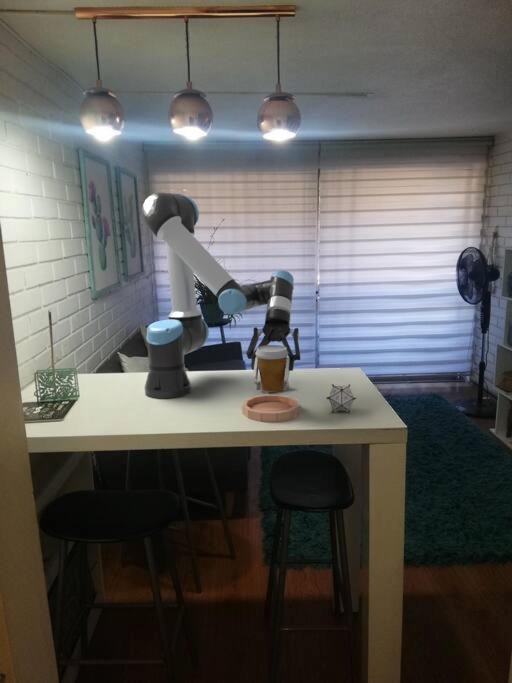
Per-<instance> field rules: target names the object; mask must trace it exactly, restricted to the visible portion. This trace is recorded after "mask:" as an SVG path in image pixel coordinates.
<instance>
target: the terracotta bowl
mask: <svg viewBox="0 0 512 683" xmlns="http://www.w3.org/2000/svg"><path fill="white" fill-rule="evenodd" d="M299 403H300V402H299V401H298V400H297V399H295V398H293V397H291V396H289V395H283V394H259V395H256V396H255V395H254V396H250V397H249V398H246V399H244V400H243V402H242V404H241V408H242V409H241V411H242V414H243V416H245V417H246V418H247V419H249V420H254V421H258V422H265V423H267V422H272V423H273V422H275V423H277V422H283V421H288V420H292V419H294V418H295V417H297V416H299V409H300V404H299Z"/></svg>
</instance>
